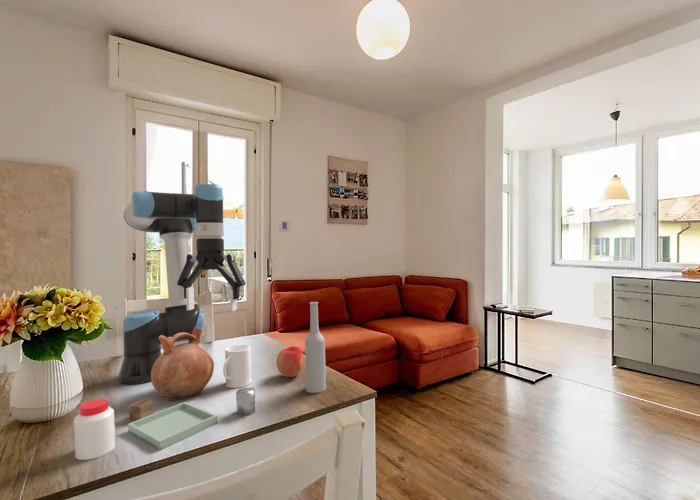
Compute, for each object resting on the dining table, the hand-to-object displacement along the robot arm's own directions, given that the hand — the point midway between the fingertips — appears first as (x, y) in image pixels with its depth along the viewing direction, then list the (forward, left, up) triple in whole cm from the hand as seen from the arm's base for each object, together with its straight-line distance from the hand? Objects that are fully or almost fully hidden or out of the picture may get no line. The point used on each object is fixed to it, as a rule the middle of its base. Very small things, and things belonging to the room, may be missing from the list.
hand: (211, 310), depth 109 cm
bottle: (+18, +25, -28) cm, 42 cm away
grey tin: (+12, +2, -28) cm, 31 cm away
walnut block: (-10, -16, -28) cm, 34 cm away
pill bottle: (-2, -30, -28) cm, 41 cm away
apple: (+3, +29, -28) cm, 40 cm away
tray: (+3, -14, -28) cm, 32 cm away
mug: (-7, +13, -28) cm, 32 cm away
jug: (-16, 0, -28) cm, 32 cm away
